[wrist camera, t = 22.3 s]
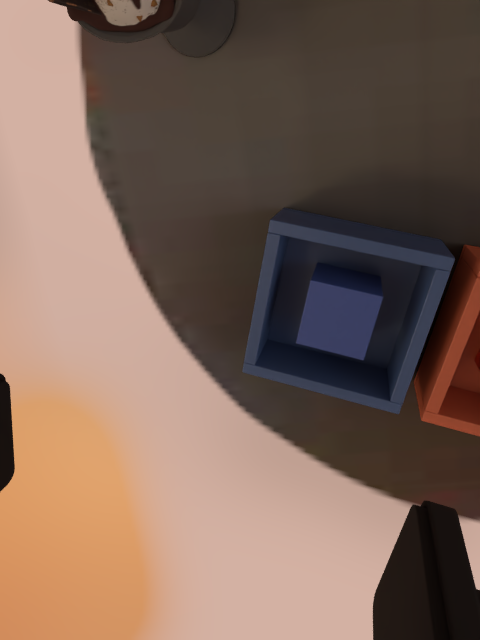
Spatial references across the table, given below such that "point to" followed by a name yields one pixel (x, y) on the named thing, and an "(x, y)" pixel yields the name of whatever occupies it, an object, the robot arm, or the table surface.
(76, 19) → the sundae
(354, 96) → the table surface
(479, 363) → the red block
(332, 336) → the blue block
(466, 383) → the terracotta bin
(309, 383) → the blue bin
